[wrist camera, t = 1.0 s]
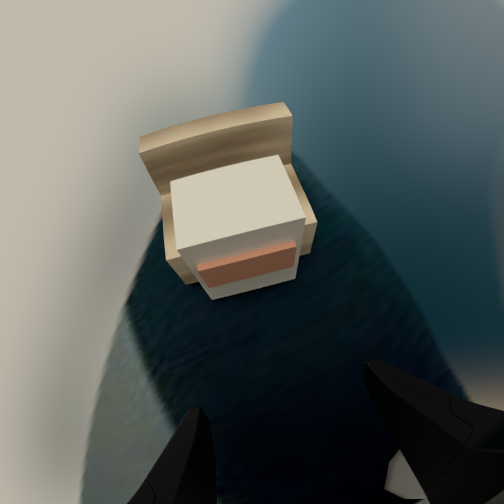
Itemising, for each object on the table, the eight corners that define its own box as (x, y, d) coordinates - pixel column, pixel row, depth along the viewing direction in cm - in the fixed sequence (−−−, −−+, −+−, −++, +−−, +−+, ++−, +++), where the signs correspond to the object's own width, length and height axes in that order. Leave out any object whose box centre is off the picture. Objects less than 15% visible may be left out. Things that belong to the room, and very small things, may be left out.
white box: (296, 282, 22) (308, 223, 14) (213, 304, 22) (177, 256, 14) (278, 228, 25) (278, 154, 17) (202, 247, 24) (170, 181, 16)
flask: (370, 495, 14) (418, 542, 5) (403, 424, 17) (473, 438, 8) (430, 497, 12) (488, 526, 3) (459, 432, 15) (530, 437, 6)
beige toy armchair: (308, 257, 24) (327, 174, 15) (189, 288, 24) (136, 222, 14) (281, 187, 28) (281, 99, 18) (179, 212, 28) (140, 133, 18)
